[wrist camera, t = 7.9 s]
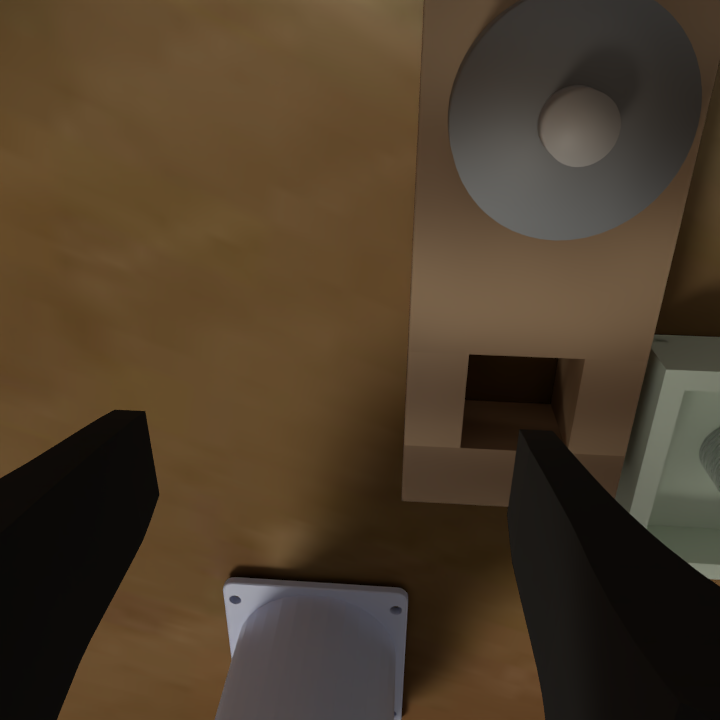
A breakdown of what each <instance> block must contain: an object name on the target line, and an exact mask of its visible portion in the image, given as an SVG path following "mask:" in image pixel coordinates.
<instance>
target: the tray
mask: <svg viewBox="0 0 720 720" xmlns="http://www.w3.org/2000/svg"><path fill="white" fill-rule="evenodd" d="M719 427H720V337H706V336H680V335H654V338H653V342H652V346H651V350H650V354H649V359H648V363H647V367H646V371H645V375H644V379H643V384H642V388H641V392H640V396H639V400H638V405H637V409H636V413H635V417H634V421H633V425H632V430H631V434H630V438H629V442H628V446H627V451H626V455H625V459H624V463H623V467H622V471H621V476H620V480H619V484H618V488H617V492H616V497H615V500H616V501H617V502H618V503H619V504H620V505H621V506H622V507H623V508H624V509H625V510H626V511H627V512H628V513H630V514H631V515H632V516H633V517H634V518H635V519H636V520H637V521H638V522H639V523H640V524H642V525H643V526H644V527H645V528H646V529H647V530H648V531H649V532H650V533H651V534H653V535H654V536H655V537H656V538H657V539H658V540H660V541H661V542H662V543H663V544H664V545H665V546H667V547H668V548H669V549H670V550H672V551H673V552H674V553H676V554H677V555H678V556H679V557H681V558H682V559H683V560H684V561H686V562H687V563H688V564H690V565H691V566H692V567H693V568H695V569H696V570H697V571H699V572H700V573H701V574H703V575H704V576H705V577H707V578H708V579H720V493H719V491H718V490H717V488H716V486H715V485H714V483H713V482H712V480H711V479H710V477H709V476H708V474H707V472H706V471H705V469H704V468H703V466H702V464H701V462H700V459H699V451H700V447H701V445H702V443H703V441H704V440H705V438H706V437H707V436H708V435H709V434H710V433H711V432H713V431H714V430H715V429H717V428H719Z"/></svg>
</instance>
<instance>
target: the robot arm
mask: <svg viewBox="0 0 720 720" xmlns="http://www.w3.org/2000/svg"><path fill="white" fill-rule="evenodd" d="M158 497H159V489H158V484H157V478H156V472H155V466H154V460H153V454H152V449H151V443H150V437H149V431H148V425H147V419H146V413H145V411H129V410H114V411H112V412H110V413H108V414H106V415H104V416H102V417H101V418H99V419H97V420H96V421H94V422H92V423H91V424H89V425H87V426H86V427H84V428H83V429H81V430H79V431H78V432H76V433H75V434H73V435H71V436H70V437H68V438H67V439H65V440H63V441H62V442H60V443H59V444H57V445H55V446H54V447H52V448H51V449H49V450H47V451H46V452H44V453H43V454H41V455H39V456H38V457H36V458H34V459H33V460H31V461H30V462H28V463H26V464H25V465H23V466H21V467H19V468H18V469H16V470H14V471H12V472H11V473H9V474H7V475H5V476H4V477H2V478H0V720H57V718H58V715H59V713H60V710H61V708H62V705H63V703H64V700H65V698H66V695H67V693H68V690H69V688H70V685H71V683H72V680H73V678H74V676H75V673H76V671H77V668H78V666H79V663H80V661H81V659H82V657H83V655H84V653H85V650H86V648H87V646H88V644H89V642H90V640H91V638H92V636H93V634H94V632H95V630H96V629H97V627H98V625H99V623H100V621H101V619H102V617H103V615H104V613H105V612H106V610H107V608H108V606H109V604H110V602H111V600H112V598H113V597H114V595H115V593H116V591H117V589H118V587H119V585H120V583H121V582H122V580H123V578H124V576H125V574H126V572H127V570H128V568H129V566H130V564H131V563H132V561H133V559H134V557H135V555H136V553H137V551H138V549H139V547H140V545H141V543H142V541H143V539H144V536H145V534H146V531H147V528H148V526H149V523H150V520H151V518H152V515H153V512H154V509H155V506H156V503H157V500H158ZM507 517H508V528H509V538H510V547H511V556H512V563H513V568H514V572H515V577H516V581H517V586H518V590H519V594H520V599H521V603H522V607H523V611H524V615H525V620H526V624H527V628H528V632H529V636H530V641H531V645H532V649H533V653H534V658H535V662H536V666H537V670H538V676H539V681H540V686H541V691H542V697H543V705H544V712H545V720H720V586H718V585H717V584H715V583H714V582H712V581H711V580H710V579H708V578H707V577H705V576H704V575H703V574H701V573H700V572H699V571H697V570H696V569H695V568H693V567H692V566H691V565H690V564H688V563H687V562H686V561H684V560H683V559H682V558H681V557H679V556H678V555H677V554H676V553H674V552H673V551H672V550H670V549H669V548H668V547H667V546H665V545H664V544H663V543H662V542H661V541H660V540H658V539H657V538H656V537H655V536H654V535H653V534H651V533H650V532H649V531H648V530H647V529H646V528H645V527H644V526H643V525H642V524H640V523H639V522H638V521H637V520H636V519H635V518H634V517H633V516H632V515H631V514H630V513H628V512H627V511H626V510H625V509H624V508H623V507H622V506H621V505H620V504H619V503H618V502H617V501H616V500H615V499H614V498H613V497H612V496H611V495H610V494H609V493H608V492H607V491H606V490H605V488H604V487H603V486H602V485H601V484H600V483H599V482H598V481H597V480H596V479H595V478H594V477H593V476H592V475H591V474H590V472H589V471H588V470H587V469H586V468H585V467H584V466H583V465H582V463H581V462H580V461H579V460H578V459H577V458H576V457H575V456H574V454H573V453H572V452H571V451H570V450H569V449H568V448H567V446H566V445H565V444H564V443H563V442H562V441H561V440H560V439H559V437H558V436H557V435H556V434H555V433H554V432H553V431H547V430H527V429H519V435H518V442H517V449H516V456H515V463H514V470H513V477H512V484H511V491H510V498H509V505H508V512H507ZM223 593H224V601H225V609H226V617H227V625H228V633H229V641H230V649H231V657H232V661H231V664H230V668H229V671H228V675H227V678H226V682H225V685H224V689H223V692H222V696H221V699H220V703H219V706H218V710H217V713H216V717H215V720H401V715H402V698H403V681H404V663H405V646H406V629H407V612H408V594H407V592H406V591H405V590H403V589H402V588H398V587H383V586H368V585H352V584H336V583H321V582H305V581H289V580H273V579H258V578H242V577H231V578H229V579H227V580H226V582H225V584H224V588H223ZM235 596H238V597H235ZM393 606H398V607H397V608H396V607H393Z"/></svg>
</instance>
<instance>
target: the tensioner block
mask: <svg viewBox="0 0 720 720" xmlns="http://www.w3.org/2000/svg"><path fill="white" fill-rule="evenodd" d="M719 62H720V0H424V9H423V31H422V53H421V74H420V96H419V118H418V139H417V161H416V183H415V204H414V226H413V248H412V269H411V291H410V313H409V334H408V356H407V378H406V400H405V421H404V443H403V472H402V501H413V502H431V503H449V504H467V505H485V506H503V507H508V505H509V498H510V491H511V484H512V477H513V470H514V463H515V456H516V449H517V442H518V435H519V429H527V430H547V431H553V432H554V433H555V434H556V435H557V436H558V437H559V439H560V440H561V441H562V442H563V443H564V444H565V445H566V446H567V448H568V449H569V450H570V451H571V452H572V453H573V454H574V456H575V457H576V458H577V459H578V460H579V461H580V462H581V463H582V465H583V466H584V467H585V468H586V469H587V470H588V471H589V472H590V474H591V475H592V476H593V477H594V478H595V479H596V480H597V481H598V482H599V483H600V484H601V485H602V486H603V487H604V488H605V490H606V491H607V492H608V493H609V494H610V495H611V496H612V497H613V498H614V499H615V497H616V492H617V488H618V484H619V480H620V476H621V471H622V467H623V463H624V459H625V455H626V451H627V446H628V442H629V438H630V434H631V430H632V425H633V421H634V417H635V413H636V409H637V405H638V400H639V396H640V392H641V388H642V384H643V379H644V375H645V371H646V367H647V363H648V359H649V354H650V350H651V346H652V342H653V338H654V333H655V329H656V325H657V321H658V317H659V313H660V308H661V304H662V300H663V296H664V292H665V287H666V283H667V279H668V275H669V271H670V267H671V262H672V258H673V254H674V250H675V246H676V241H677V237H678V233H679V229H680V225H681V221H682V216H683V212H684V208H685V204H686V200H687V195H688V191H689V187H690V183H691V179H692V175H693V170H694V166H695V162H696V158H697V154H698V149H699V145H700V141H701V137H702V133H703V128H704V124H705V120H706V116H707V112H708V108H709V103H710V99H711V95H712V91H713V87H714V82H715V78H716V74H717V70H718V66H719ZM469 354H473V355H497V356H521V357H546V358H558V363H557V369H556V375H555V381H554V387H553V393H552V399H551V404H538V403H516V402H494V401H472V400H465V392H466V381H467V371H468V360H469Z"/></svg>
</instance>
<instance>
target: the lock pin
mask: <svg viewBox="0 0 720 720" xmlns="http://www.w3.org/2000/svg"><path fill="white" fill-rule="evenodd" d="M699 459H700V462H701V464H702V466H703V468H704V469H705V471H706V472H707V474H708V476H709V477H710V479H711V480H712V482H713V483H714V485H715V486H716V488H717V490H718V491H719V493H720V427H719V428H717V429H715V430H714V431H713V432H711V433H710V434H709V435H708V436H707V437H706V438H705V440H704V441H703V443H702V445H701V447H700V451H699Z"/></svg>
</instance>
